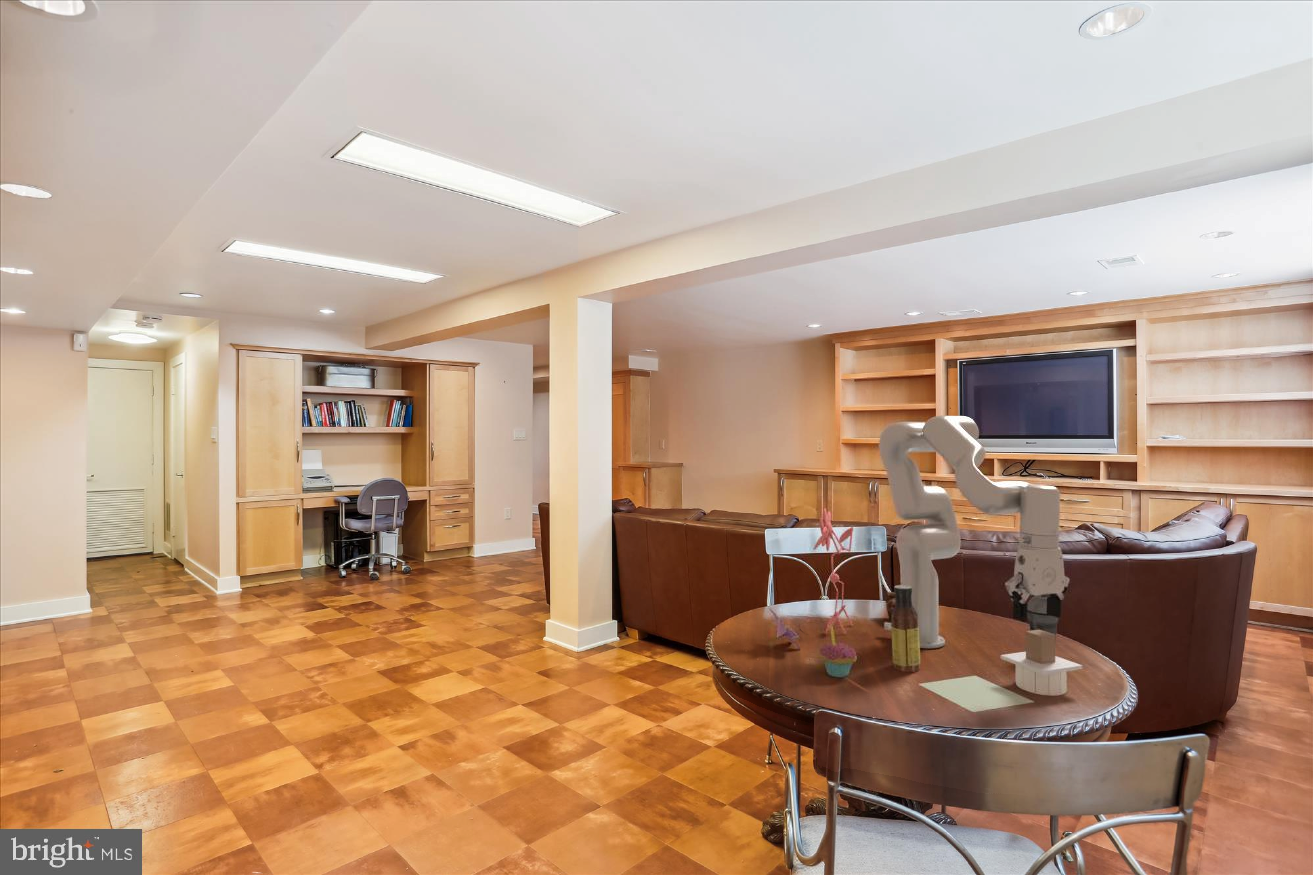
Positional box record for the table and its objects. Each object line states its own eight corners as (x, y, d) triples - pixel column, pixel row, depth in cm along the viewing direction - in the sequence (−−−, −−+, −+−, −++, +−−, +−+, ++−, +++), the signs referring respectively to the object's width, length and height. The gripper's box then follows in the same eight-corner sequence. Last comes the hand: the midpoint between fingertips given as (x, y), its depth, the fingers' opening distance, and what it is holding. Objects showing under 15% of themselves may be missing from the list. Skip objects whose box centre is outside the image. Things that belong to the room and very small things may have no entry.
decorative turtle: (895, 613, 208) (897, 588, 207) (935, 629, 194) (937, 602, 194) (872, 616, 203) (874, 590, 203) (911, 632, 190) (914, 604, 190)
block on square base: (1043, 675, 138) (1043, 642, 138) (1000, 658, 149) (1000, 628, 149) (1082, 669, 142) (1081, 637, 142) (1038, 653, 152) (1037, 623, 152)
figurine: (861, 619, 201) (857, 504, 201) (842, 642, 178) (838, 513, 179) (811, 614, 208) (808, 503, 209) (787, 636, 186) (783, 512, 186)
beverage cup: (1065, 662, 161) (1064, 581, 162) (1032, 661, 163) (1031, 580, 163) (1053, 653, 169) (1052, 575, 169) (1022, 651, 170) (1021, 574, 170)
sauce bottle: (919, 666, 160) (919, 584, 160) (921, 675, 154) (920, 590, 154) (891, 663, 162) (890, 582, 162) (891, 672, 156) (890, 588, 156)
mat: (973, 714, 132) (973, 712, 132) (918, 685, 147) (918, 684, 147) (1034, 703, 137) (1034, 701, 137) (975, 677, 152) (975, 675, 152)
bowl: (1016, 692, 143) (1016, 667, 143) (1015, 677, 152) (1014, 654, 152) (1068, 700, 139) (1068, 674, 139) (1063, 684, 147) (1063, 660, 147)
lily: (797, 662, 167) (812, 626, 169) (754, 640, 169) (769, 606, 172) (794, 661, 178) (807, 628, 180) (753, 641, 181) (767, 609, 183)
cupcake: (836, 682, 150) (836, 629, 150) (811, 671, 157) (811, 620, 157) (864, 676, 154) (864, 624, 154) (838, 665, 161) (838, 616, 161)
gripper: (1022, 546, 139) (1020, 626, 140) (1083, 542, 145) (1081, 619, 145) (994, 540, 146) (992, 616, 147) (1053, 536, 152) (1051, 609, 152)
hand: (1036, 617), depth 146 cm, fingers open, 9 cm apart
